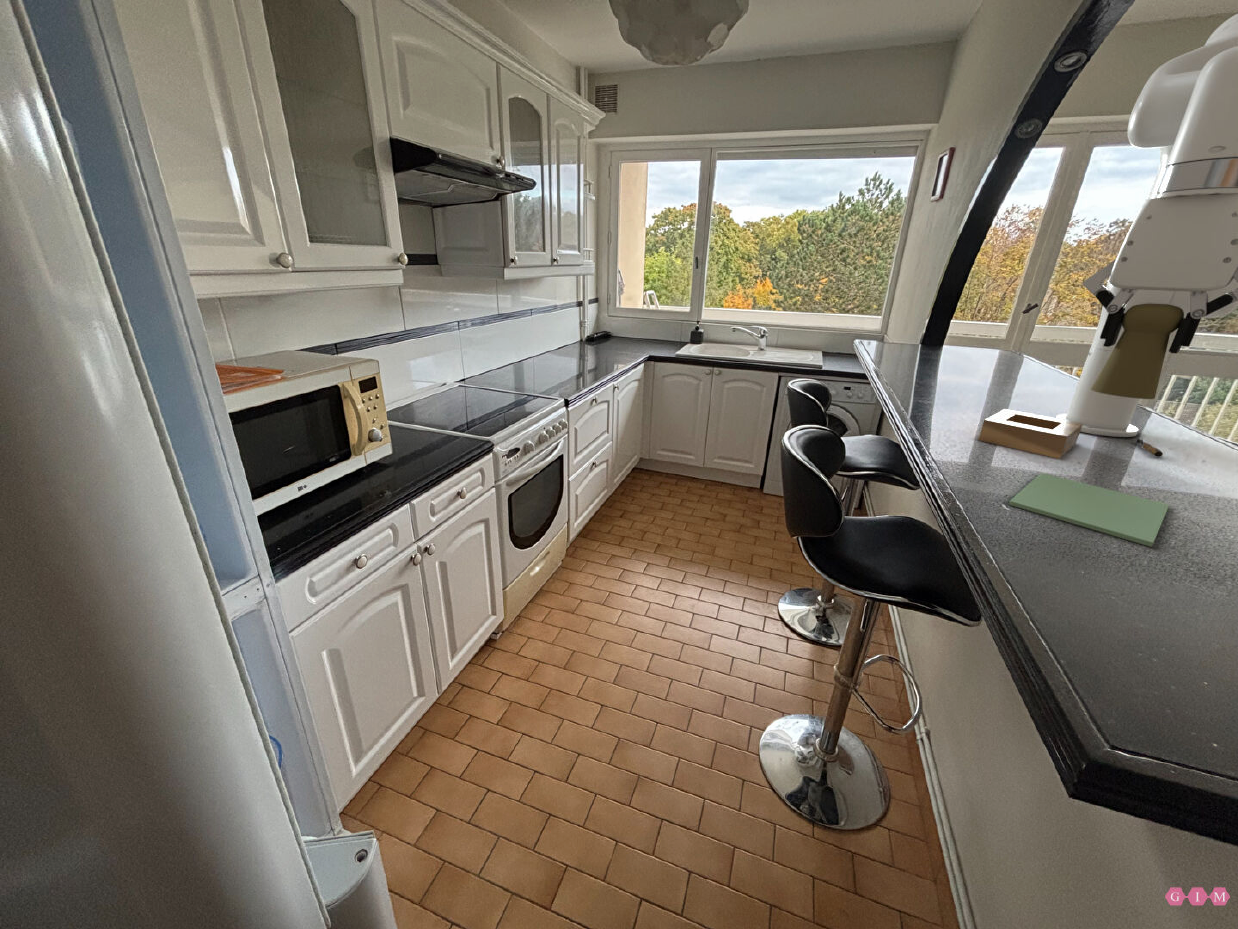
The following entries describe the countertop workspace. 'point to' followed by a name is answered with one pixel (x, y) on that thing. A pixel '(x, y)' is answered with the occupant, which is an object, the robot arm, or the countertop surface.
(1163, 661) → the countertop surface
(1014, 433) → the holder
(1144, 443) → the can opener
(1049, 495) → the mat
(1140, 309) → the cork
